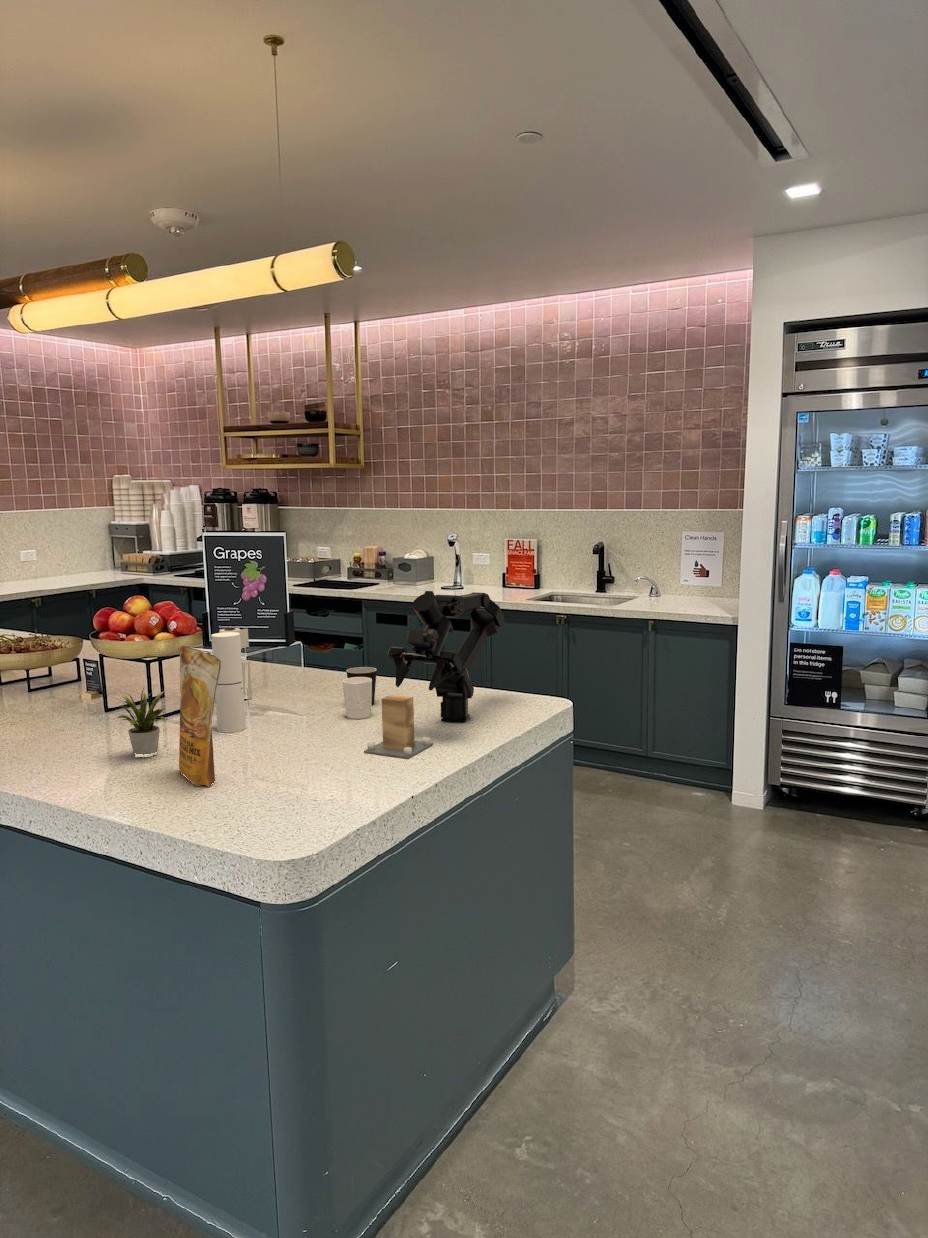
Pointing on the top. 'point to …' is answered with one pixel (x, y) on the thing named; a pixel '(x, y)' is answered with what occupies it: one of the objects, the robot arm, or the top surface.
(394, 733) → the wooden block
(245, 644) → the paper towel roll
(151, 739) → the house plant
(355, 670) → the coffee mug
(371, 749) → the peg plate
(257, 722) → the top surface
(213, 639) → the cylindrical container
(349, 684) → the white cup
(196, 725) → the pancake mix bag
